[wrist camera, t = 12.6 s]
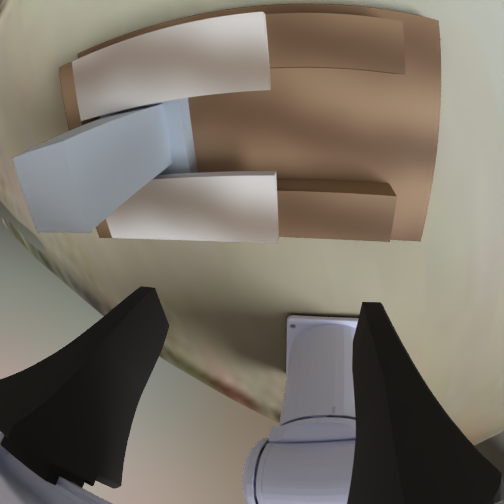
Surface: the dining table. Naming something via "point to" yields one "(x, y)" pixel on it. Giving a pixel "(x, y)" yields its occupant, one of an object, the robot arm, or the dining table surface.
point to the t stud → (104, 164)
